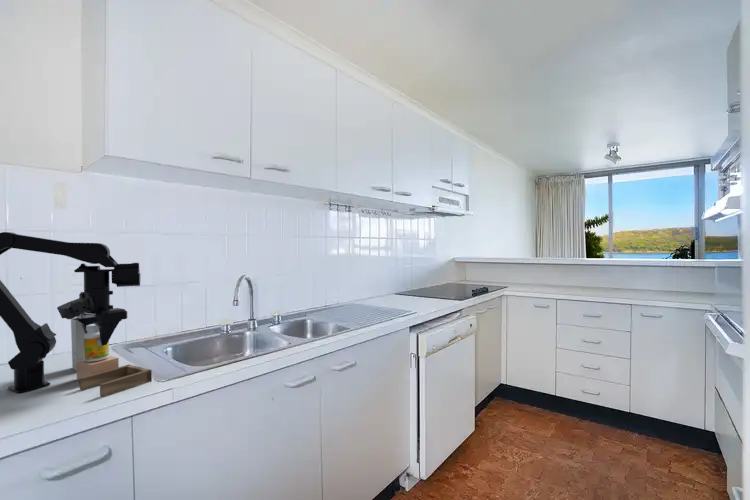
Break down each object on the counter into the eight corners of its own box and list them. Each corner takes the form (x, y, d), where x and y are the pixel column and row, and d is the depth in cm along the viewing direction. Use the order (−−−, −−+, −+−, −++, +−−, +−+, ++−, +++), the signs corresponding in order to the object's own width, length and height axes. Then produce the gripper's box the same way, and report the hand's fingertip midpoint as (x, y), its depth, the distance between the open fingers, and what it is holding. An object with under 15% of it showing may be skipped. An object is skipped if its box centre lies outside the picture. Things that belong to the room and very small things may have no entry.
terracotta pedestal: (76, 379, 102) (76, 361, 102) (104, 371, 108) (104, 354, 108) (90, 383, 99) (90, 365, 99) (118, 375, 105) (118, 357, 105)
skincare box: (104, 361, 118) (103, 312, 118) (110, 365, 114) (110, 315, 113) (70, 368, 111) (70, 316, 111) (76, 373, 107) (75, 319, 107)
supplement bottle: (80, 361, 102) (78, 326, 102) (101, 355, 107) (98, 322, 107) (93, 362, 100) (90, 326, 100) (113, 356, 105) (111, 322, 105)
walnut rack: (80, 389, 95) (79, 378, 95) (128, 375, 105) (128, 364, 105) (102, 397, 90) (102, 384, 90) (151, 380, 101) (151, 369, 101)
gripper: (44, 289, 100) (45, 346, 100) (81, 293, 92) (82, 355, 92) (91, 285, 110) (91, 337, 110) (128, 288, 102) (128, 345, 102)
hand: (97, 343), depth 103 cm, fingers open, 6 cm apart
